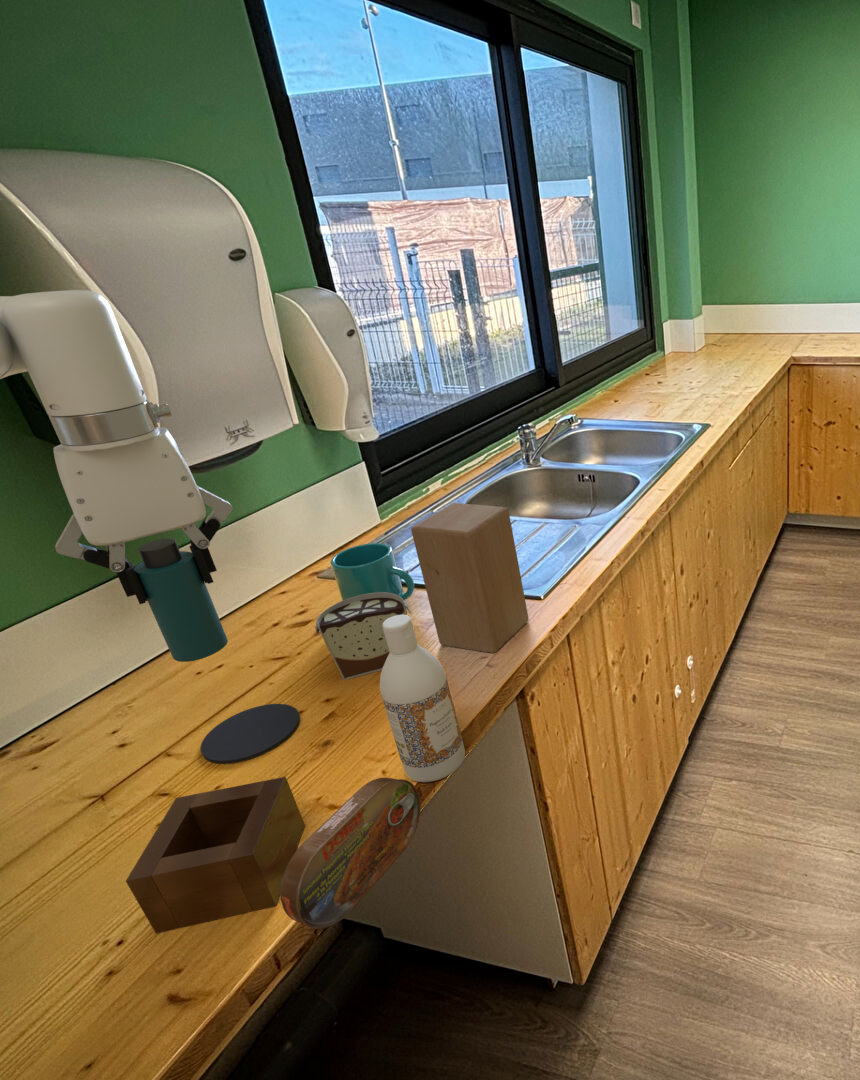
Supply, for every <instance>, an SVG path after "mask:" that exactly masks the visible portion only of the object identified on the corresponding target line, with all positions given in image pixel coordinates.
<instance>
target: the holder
mask: <svg viewBox="0 0 860 1080" xmlns="http://www.w3.org/2000/svg"><path fill="white" fill-rule="evenodd" d="M305 828H306V823H305V822H304V819H303V816H302V814H301V811H300V809H299V806H298V804H297V801H296V799H295V797H294V794H293V792H292V789H291V786H290V784H289V782H288V779H287V776H283V777H282V776H281V777H277V778H272V779H267V780H261V781H255V782H251V783H245V784H241V785H236V786H230V787H225V788H220V789H214V790H209V791H204V792H200V793H193V794H190V795H183V796H179V797H175V799H174V800H173V802H172V804H171V805H170V807H169V808H168V810H167V812H166V814H165V816H164V817H163V819H162V820H161V822H160V823H159V825H158V826H157V828H156V830H155V831H154V833H153V834H152V837H151V838H150V840H149V841H148V843H147V845H146V847H145V848H144V850H143V851H142V853H141V855H140V857H139V858H138V859H137V861H136V863H135V865H134V866H133V868H132V869H131V871H130V873H129V875H128V876H127V878H126V880H125V883H126V885H127V886H128V888H129V889H130V891H131V893H132V895H133V896H134V898H135V900H136V902H137V903H138V905H139V907H140V908H141V911H142V912H143V914H144V915H145V917H146V919H147V921H148V923H149V924H150V927H151V928H152V929H153V931H154V934H159V933H163V932H168V931H174V930H176V929H181V928H185V927H190V926H195V925H198V924H203V923H207V922H212V921H216V920H221V919H224V918H230V917H234V916H237V915H242V914H247V913H251V912H256V911H260V910H264V909H269V908H272V907H276V906H277V904H278V902H279V899H280V888H281V883H282V879H283V875H284V873H285V870H286V868H287V865H288V863H289V862H290V860H291V858H292V857H293V855H294V854H295V852H296V851H297V850H298V848H299V847H298V846H299V843H300V841H301V838H302V835H303V833H304V830H305Z"/></svg>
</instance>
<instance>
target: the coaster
mask: <svg viewBox="0 0 860 1080" xmlns="http://www.w3.org/2000/svg"><path fill="white" fill-rule="evenodd" d="M300 722H301V716H300V713H299V710H297V708H296V707H294V706H292V705H290V704H286V703H269V704H268V703H267V704H263V705H258V706H254V707H251V708H247V709H245V710H242V711H240V712H238V713H236V714H234V715H232V716H229V717H228V718H226V719H224V720H223V721H221V722H220V723H218V724H217V725H216V726H214V727H213V728H212V729H211V730H210V731H209V732H208V733H207V734H206V735H205V737H204V738H203V740H202V741H201V744H200V754H201V755H202V757H203V759H205V760H206V761H208V762H210V763H213V764H219V765H228V764H235V763H236V764H237V763H240V762H245V761H249V760H251V759H254V758H258V757H259V756H261V755H265V754H266V753H268V752H270V751H272V750H274V749H275V748H277V747H279V746H280V745H282V744H283V743H285V742H286V741H287V740H288V739H289V738H290V737H292V735H293V734H294V733H295V732H296V730H297V729H298V727H299V725H300Z"/></svg>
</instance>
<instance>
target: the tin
mask: <svg viewBox="0 0 860 1080" xmlns="http://www.w3.org/2000/svg"><path fill="white" fill-rule="evenodd" d="M421 805H422V804H421V797H420V793H419V790H418V788H417V786H415V784H414V783H412V782H411V781H410V780H408V779H403V778H399V779H398V778H393V777H378V778H375V779H372V780H370V781H368V782H366V783H364V784H363V785H362V786H361V787H360V788H359V789H358V790H356V792H354V794H352V795H351V796H350V797H349V798H348V799H347V801H345V802H344V803H343V804H342V805H341V806H340V807H339V808H338V809H337V810H336V811H335V812H334V813H333V814H332V815H331V816H330V817H328V819H326V821H325V822H324V823H323V824H322V825H321V826H319V827H318V828H317V829H316V830H315V832H313V833H312V834H311V835H310V836H309V837H308V838H307V839H306V840H305V841H304V842H303V843H302V844H301V845H300V846H299V847H297V849H296V852H295V854H294V855H293V857H292V858H291V860H290V862H289V863H288V865H287V868H286V870H285V873H284V875H283V879H282V883H281V888H280V896H279V898H280V901H281V904H282V908H283V911H284V912H285V914H286V915H287V916H288V917H289V918H290V919H291V920H293V921H295V922H297V923H299V924H301V925H303V924H304V925H306V926H307V927H308V928H311V929H315V930H323V929H326V928H330V927H332V926H334V925H336V924H338V923H340V922H341V921H342V920H344V919H345V918H346V917H347V916H348V915H349V914H350V913H352V911H353V910H354V909H355V908H356V907H357V906H358V904H359V903H360V902H361V901H362V900H363V899H364V898H365V896H366V895H367V894H368V893H369V892H370V890H371V889H373V887H374V886H375V885H376V884H377V883H378V881H379V880H380V879H381V878H382V877H383V876H384V874H386V873H387V871H388V870H389V869H390V868H391V867H392V865H394V863H395V862H396V861H397V860H398V859H399V858H400V857H401V855H402V854H403V853H404V852H405V851H406V849H407V848H408V847H409V845H410V844H411V841H412V840H413V838H414V836H415V834H416V832H417V829H418V827H419V822H420V818H421V811H422V810H421V809H422V807H421Z"/></svg>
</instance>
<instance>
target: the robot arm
mask: <svg viewBox="0 0 860 1080" xmlns="http://www.w3.org/2000/svg"><path fill="white" fill-rule="evenodd" d="M26 372H27V373H28V375H29V377H30V379H31V381H32V384H33V385H34V387H35V390H36V392H37V394H38V396H39V398H40V401H41V402H42V405H43V407H44V410H45V411H46V414H47V416H48V418H49V420H50V423H51V425H52V427H53V429H54V431H55V434H56V436H57V438H58V440H59V442H60V444H58V445H56V446H54V447H53V456H54V457H53V458H54V461H55V466H56V470H57V473H58V476H59V479H60V482H61V485H62V488H63V491H64V493H65V495H66V498H67V501H68V503H69V506H70V508H71V511H72V515H71V516H70V518H69V520H68V521H67V523H66V525H65V527H64V529H63V531H62V532H61V534H60V535H59V537H58V539H57V541H56V543H55V546H54V548H55V552H56V553H57V554H59V555H62V556H66V557H68V558H69V557H70V558H74V559H77V560H83V561H86V562H88V563H90V564H93V565H96V566H99V567H103V568H105V569H108V570H111V571H112V572H114V573H116V575H117V578H118V580H119V583H120V585H121V586H122V589H123V591H124V593H125V595H126V597H127V598H129V597H133V596H135V597H136V599H137V602H138V604H139V605H144V604H146V602H148V600H147V598H146V596H145V593H144V591H143V589H142V587H141V584H140V582H139V580H138V578H137V575H136V573H135V571H134V568H135V567H134V566H133V563H132V562H131V561H129V560H128V559H127V557H126V542H131V541H134V540H138V539H142V538H147V537H150V536H151V537H152V536H154V535H158V534H162V533H166V532H170V531H175V530H177V529H180V530H181V531H182V532H183V533H184V534H185V535H186V536H187V537H188V538H189V542H190V543H189V544H190V545H189V546H188V547H189V550H190V552H191V553H193V555H194V557H195V560H196V562H197V565H198V567H199V570H200V572H201V575H202V577H203V580H204V582H205V584H209V585H210V584H213V583H214V580H213V577H212V575H211V573H215V572H217V571H218V570H217V568H216V565H215V562H214V560H213V557H212V555H211V552H210V549H209V547H210V546H211V541H212V540H213V538H214V537H215V535H216V533H217V532H218V530H219V529H220V528H221V525H222V524H223V523H224V522H225V520H226V519H227V518H228V517H229V516H230V515H231V513H232V512H233V510H234V506H233V505H232V504H231V503H230V502H229V501H228V500H225V499H223V498H222V497H220V496H218V495H216V494H214V493H212V492H210V491H208V490H206V489H205V488H203V487H201V486H199V485H197V483H196V480H195V478H194V476H193V473H192V472H191V468H190V467H189V465H188V463H187V460H186V459H185V457H184V455H183V453H182V451H181V449H180V448H179V446H178V444H177V442H176V440H175V438H174V437H173V435H172V434H171V433H170V431H169V429H168V428H167V427H162V426H161V427H159V425H158V423H159V424H160V423H161V421H162V420H165V419H166V418H172V417H173V414H172V411H171V410H170V407H169V405H168V403H162V404H158V403H154V404H153V402H150V401H148V398H147V396H146V393H145V391H144V388H143V386H142V383H141V380H140V377H139V374H138V372H137V370H136V367H135V365H134V361H133V359H132V357H131V354H130V352H129V349H128V346H127V344H126V342H125V339H124V336H123V334H122V331H121V328H120V326H119V324H118V321H117V318H116V316H115V313H114V311H113V309H112V306H111V304H110V303H109V301H108V300H107V299H106V298H105V297H104V296H103V295H102V294H100V293H98V292H96V291H91V290H86V289H85V290H84V289H83V290H82V289H69V290H66V289H65V290H52V291H51V290H50V291H40V292H39V291H38V292H29V293H21V294H17V295H12V296H11V295H6V296H5V295H1V296H0V380H2V379H4V378H7V377H9V376H13V375H17V374H22V373H26ZM206 506H207V507H209V508H211V509H212V510H211V512H210V513H209V515H208V516H207V509H206ZM202 520H203V521H202ZM200 521H202V522H201V524H200V525H199V526H198V523H199V522H200ZM82 535H83V536H84V538H85V539H86V541H87V542H88V543H89V544H91V545H93V546H91V545H86V544H83V543H80V542H79V541H80V539H81V537H82ZM96 546H98V547H96ZM99 547H106V550H105V549H103V548H99Z"/></svg>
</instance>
